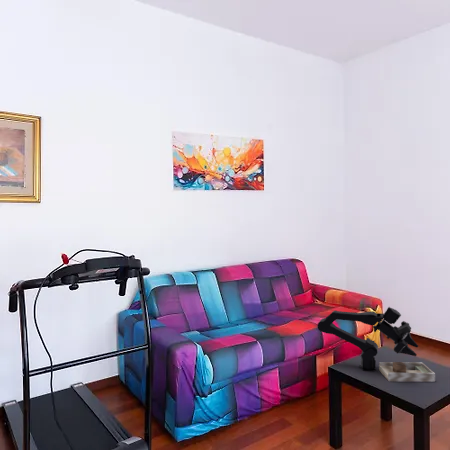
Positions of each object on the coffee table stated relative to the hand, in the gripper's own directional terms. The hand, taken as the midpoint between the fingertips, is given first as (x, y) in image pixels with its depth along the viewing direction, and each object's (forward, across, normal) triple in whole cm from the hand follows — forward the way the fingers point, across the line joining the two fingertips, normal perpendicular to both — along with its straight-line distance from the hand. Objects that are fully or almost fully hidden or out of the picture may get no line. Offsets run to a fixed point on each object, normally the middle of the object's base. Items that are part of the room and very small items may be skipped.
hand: (417, 351), depth 197 cm
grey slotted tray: (+3, -4, +13) cm, 14 cm away
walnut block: (-1, -8, +12) cm, 14 cm away
